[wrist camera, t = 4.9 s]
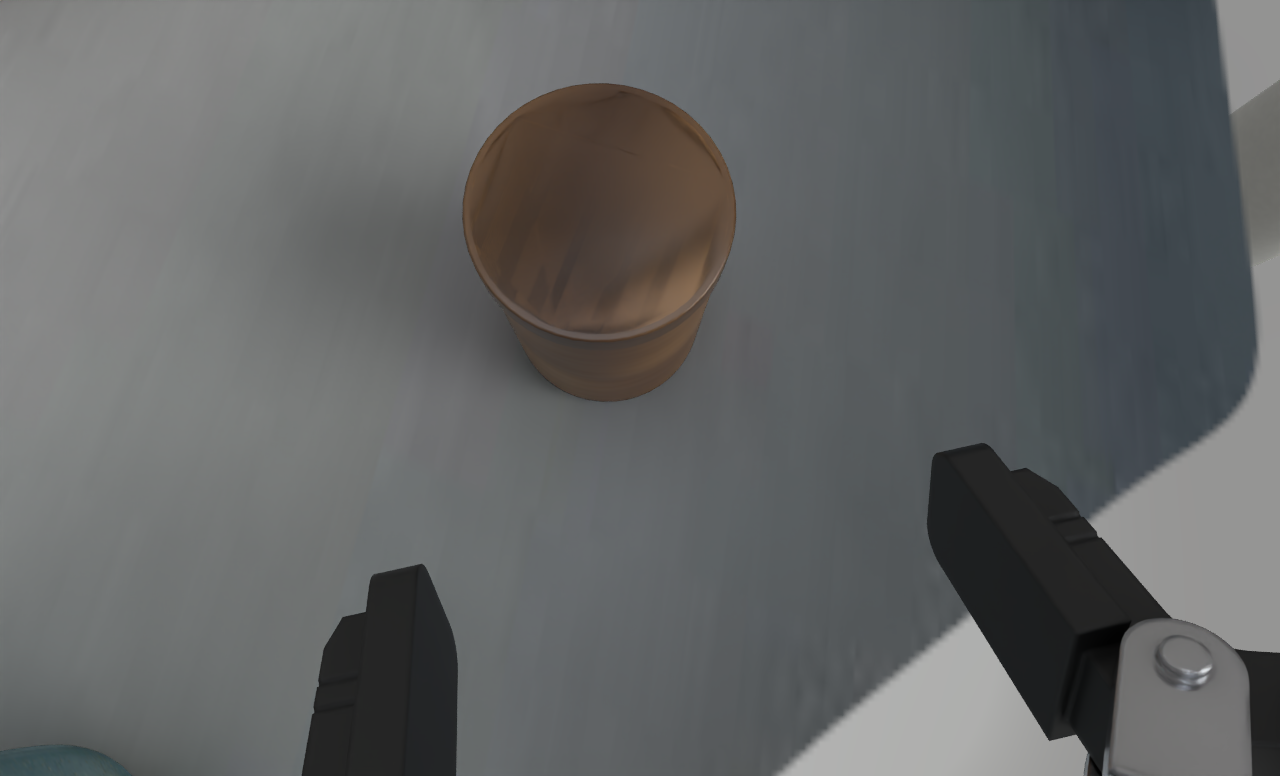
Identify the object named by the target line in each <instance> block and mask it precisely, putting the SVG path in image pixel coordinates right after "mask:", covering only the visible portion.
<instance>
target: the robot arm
mask: <svg viewBox="0 0 1280 776" xmlns="http://www.w3.org/2000/svg"><path fill="white" fill-rule="evenodd" d="M927 528H928V535H929V539H930V543H931V546H932V549H933V552H934V554H935V556H936V559H937V560H938V562H939V564H940V566H941V567H942V569H943V570H944V572H945V574H946V575H947V577H948V578H949V580H950V582H951V583H952V585H953V586H954V588H955V590H956V591H957V593H958V595H959V596H960V598H961V599H962V601H963V603H964V604H965V606H966V607H967V609H968V611H969V612H970V614H971V616H972V617H973V619H974V620H975V622H976V624H977V625H978V627H979V628H980V630H981V632H982V633H983V635H984V636H985V638H986V640H987V641H988V643H989V644H990V646H991V648H992V649H993V651H994V653H995V654H996V656H997V657H998V659H999V661H1000V662H1001V664H1002V666H1003V667H1004V668H1005V670H1006V672H1007V674H1008V675H1009V677H1010V678H1011V680H1012V682H1013V683H1014V685H1015V686H1016V688H1017V690H1018V691H1019V693H1020V695H1021V696H1022V698H1023V699H1024V701H1025V702H1026V704H1027V706H1028V707H1029V709H1030V711H1031V712H1032V714H1033V715H1034V717H1035V719H1036V720H1037V722H1038V724H1039V725H1040V727H1041V728H1042V730H1043V732H1044V733H1045V735H1046V736H1047V738H1048V740H1049V741H1051V740H1055V739H1059V738H1063V737H1068V736H1072V735H1077V736H1078V738H1079V739H1080V741H1081V742H1082V744H1083V745H1084V746H1085V748H1086V750H1087V751H1088V754H1087V758H1086V762H1085V769H1084V776H1280V653H1272V652H1271V653H1270V652H1256V651H1245V650H1238V649H1233V648H1232V647H1231V646H1230V645H1229V644H1228V643H1227V642H1225V641H1224V640H1223V639H1221V638H1220V637H1219V636H1217V635H1216V634H1214V633H1212V632H1211V631H1209V630H1207V629H1205V628H1203V627H1200V626H1198V625H1196V624H1193V623H1190V622H1186V621H1182V620H1178V619H1172V618H1171V617H1170V616H1169V615H1168V614H1167V613H1166V612H1165V610H1164V609H1163V608H1162V607H1161V606H1160V605H1159V604H1158V602H1157V601H1156V600H1155V599H1154V598H1153V597H1152V596H1151V594H1150V593H1149V592H1148V591H1147V590H1146V588H1144V586H1143V585H1142V584H1141V583H1140V582H1139V581H1138V579H1137V578H1136V577H1135V576H1134V575H1133V574H1132V572H1131V571H1130V570H1129V569H1128V568H1127V567H1126V565H1125V564H1124V563H1123V562H1122V561H1121V560H1120V559H1119V557H1118V556H1117V555H1116V554H1115V553H1114V552H1113V550H1112V549H1111V548H1110V547H1109V546H1108V545H1107V543H1106V542H1105V541H1104V540H1103V539H1102V538H1099V537H1098V536H1097V532H1096V531H1095V529H1094V528H1093V527H1092V526H1091V525H1090V524H1089V523H1088V521H1087V520H1086V519H1085V518H1084V517H1081V516H1080V514H1079V511H1078V510H1077V509H1076V507H1075V506H1074V505H1073V504H1072V503H1071V502H1070V501H1069V499H1068V498H1067V497H1066V496H1065V495H1064V494H1063V492H1062V491H1061V490H1060V489H1059V488H1058V487H1057V486H1055V485H1054V484H1052V483H1050V482H1049V481H1047V480H1045V479H1044V478H1042V477H1040V476H1039V475H1037V474H1035V473H1034V472H1032V471H1030V470H1029V469H1027V468H1023V469H1019V470H1014V471H1010V470H1009V469H1008V468H1007V466H1006V465H1005V464H1004V463H1003V462H1002V460H1001V459H1000V458H999V457H998V455H997V454H996V453H995V452H994V450H993V449H992V448H991V447H990V446H988V445H987V444H985V443H980V444H975V445H971V446H966V447H962V448H957V449H953V450H948V451H943V452H939V453H936V454H935V455H934V457H933V460H932V468H931V480H930V493H929V505H928V518H927ZM318 681H319V687H317V691H316V696H315V702H314V711H315V712H314V714H312V719H311V725H310V731H309V736H308V742H307V748H306V753H305V759H304V765H303V771H302V776H456V747H457V683H458V663H457V652H456V646H455V641H454V636H453V633H452V629H451V626H450V624H449V621H448V619H447V617H446V614H445V612H444V609H443V607H442V605H441V602H440V600H439V597H438V595H437V592H436V590H435V588H434V585H433V583H432V580H431V578H430V576H429V573H428V571H427V569H426V567H425V566H424V565H423V564H419V565H415V566H410V567H405V568H401V569H396V570H392V571H387V572H383V573H378V574H374V575H373V576H372V577H371V580H370V585H369V592H368V600H367V607H366V612H364V613H359V614H355V615H350V616H346V617H343V618H342V619H341V621H340V623H339V624H338V626H337V628H336V629H335V631H334V633H333V634H332V636H331V638H330V639H329V641H328V643H327V644H326V646H325V648H324V651H323V656H322V662H321V668H320V674H319V679H318Z"/></svg>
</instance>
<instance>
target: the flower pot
mask: <svg viewBox="0 0 1280 776" xmlns="http://www.w3.org/2000/svg"><path fill="white" fill-rule="evenodd" d="M0 776H132V775H131V774H130V773H129V772H128V771H127V770H126V769H125V768H124V767H122V766H121V765H120V764H119V763H117V762H116V761H114V760H113V759H111V758H110V757H108V756H106V755H104V754H101V753H99V752H97V751H94V750H90V749H87V748H83V747H78V746H71V745H41V746H33V747H24V748H17V749H11V750H4V751H0Z"/></svg>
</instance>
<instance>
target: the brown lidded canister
mask: <svg viewBox="0 0 1280 776" xmlns="http://www.w3.org/2000/svg"><path fill="white" fill-rule="evenodd" d="M462 219H463V228H464V236H465V240H466V244H467V248H468V252H469V255H470V257H471V259H472V262H473V264H474V267H475V269H476V271H477V273H478V274H479V276H480V278H481V280H482V281H483V283H484V285H485V287H486V288H487V290H488V292H489V293H490V295H491V296H492V297H493V298H494V300H495V301H496V302H497V304H498V305H499V306H500V307H501V308H502V309H503V311H504V313H505V315H506V317H507V319H508V320H509V322H510V324H511V326H512V328H513V330H514V332H515V334H516V335H517V337H518V339H519V341H520V343H521V345H522V347H523V349H524V350H525V352H526V354H527V356H528V357H529V359H530V361H531V362H532V364H533V365H534V366H535V368H536V369H537V370H538V371H539V372H540V373H541V374H542V375H543V376H544V377H545V378H546V379H547V380H548V381H550V382H551V383H552V384H554V385H555V386H556V387H558V388H560V389H562V390H563V391H565V392H567V393H569V394H572V395H574V396H577V397H580V398H584V399H588V400H594V401H620V400H627V399H630V398H634V397H638V396H640V395H643V394H645V393H647V392H650V391H651V390H653V389H655V388H656V387H658V386H660V385H661V384H662V383H664V382H665V381H666V380H667V379H669V378H670V377H671V376H672V375H673V374H674V373H675V372H676V371H677V370H678V368H679V367H680V366H681V364H682V363H683V362H684V360H685V359H686V357H687V355H688V353H689V352H690V350H691V347H692V345H693V342H694V340H695V337H696V334H697V331H698V328H699V325H700V322H701V319H702V316H703V313H704V311H705V308H706V305H707V302H708V299H709V296H710V294H711V292H712V291H713V289H714V287H715V285H716V284H717V282H718V280H719V278H720V276H721V274H722V271H723V269H724V266H725V264H726V261H727V259H728V256H729V253H730V250H731V246H732V242H733V238H734V233H735V224H736V200H735V194H734V188H733V183H732V180H731V177H730V174H729V171H728V167H727V165H726V163H725V161H724V159H723V157H722V155H721V153H720V151H719V150H718V148H717V146H716V145H715V143H714V142H713V140H712V139H711V137H710V136H709V135H708V134H707V133H706V132H705V130H704V129H703V128H702V127H701V126H700V125H699V124H698V123H697V122H696V121H695V120H694V119H693V118H692V117H690V116H689V115H688V114H687V113H686V112H684V111H683V110H681V109H680V108H679V107H677V106H676V105H674V104H673V103H671V102H669V101H667V100H665V99H663V98H661V97H659V96H657V95H655V94H652V93H649V92H647V91H644V90H641V89H637V88H633V87H629V86H625V85H616V84H608V83H599V84H582V85H575V86H570V87H566V88H562V89H558V90H555V91H552V92H549V93H547V94H544V95H542V96H539V97H537V98H536V99H534V100H532V101H530V102H528V103H526V104H524V105H523V106H522V107H520V108H519V109H517V110H516V111H515V112H513V113H512V114H510V115H509V116H508V117H507V118H506V119H505V120H504V121H503V122H502V123H501V124H500V125H498V127H497V128H496V129H495V130H494V131H493V133H492V134H491V135H490V136H489V137H488V138H487V140H486V141H485V143H484V145H483V146H482V148H481V149H480V151H479V152H478V154H477V156H476V158H475V161H474V163H473V165H472V167H471V169H470V173H469V176H468V179H467V182H466V186H465V192H464V198H463V217H462Z"/></svg>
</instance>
